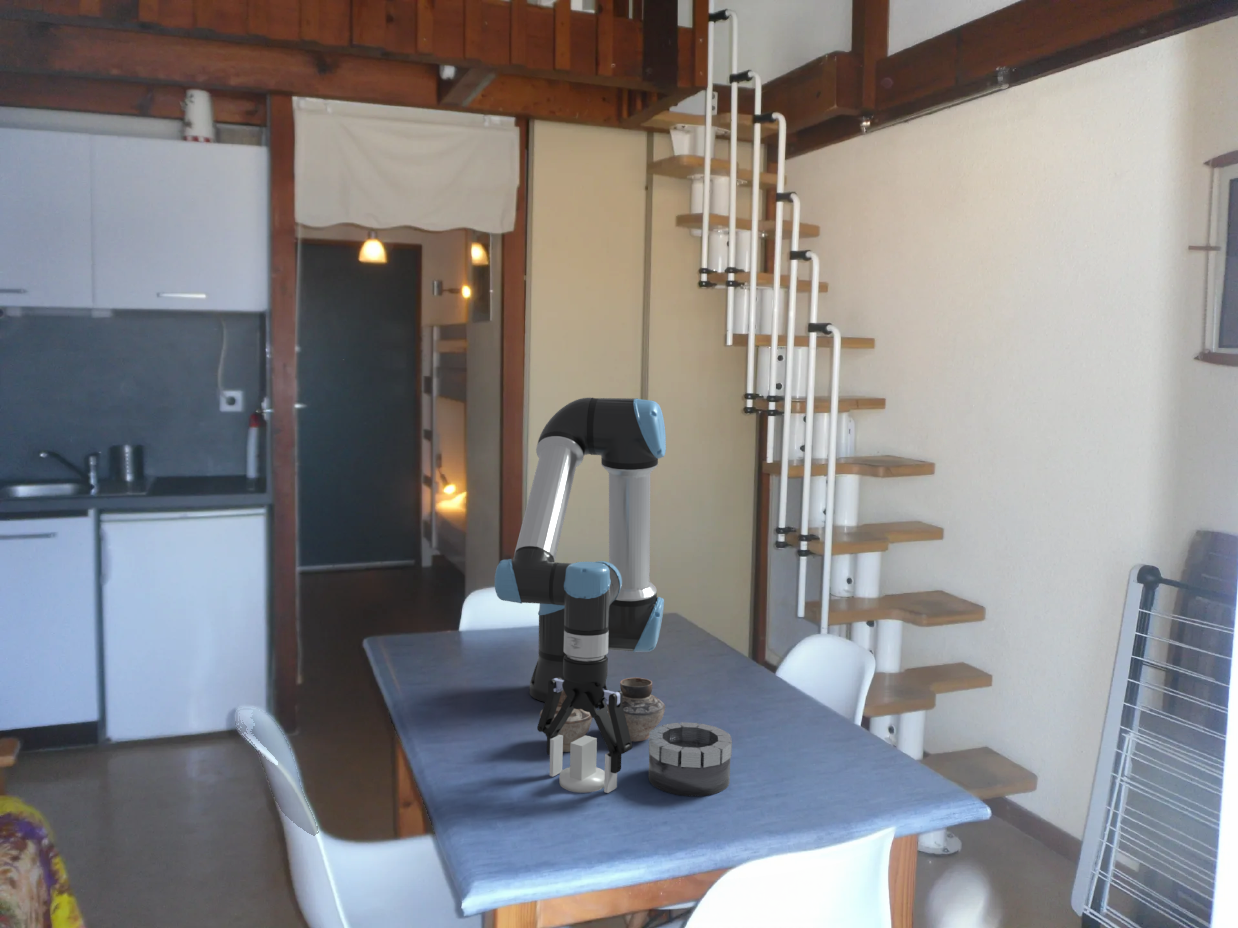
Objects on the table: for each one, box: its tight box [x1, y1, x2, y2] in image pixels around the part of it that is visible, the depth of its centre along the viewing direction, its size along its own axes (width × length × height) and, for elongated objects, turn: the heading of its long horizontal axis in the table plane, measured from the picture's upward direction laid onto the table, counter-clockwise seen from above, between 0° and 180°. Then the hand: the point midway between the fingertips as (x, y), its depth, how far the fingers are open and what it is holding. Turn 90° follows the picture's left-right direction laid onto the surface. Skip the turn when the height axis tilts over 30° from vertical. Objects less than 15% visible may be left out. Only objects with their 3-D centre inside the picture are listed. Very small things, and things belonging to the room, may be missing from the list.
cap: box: [558, 734, 605, 794], centre depth 170 cm, size 8×8×8 cm
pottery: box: [539, 677, 666, 753], centre depth 189 cm, size 11×25×12 cm, turn 116°
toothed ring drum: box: [648, 721, 733, 797], centre depth 173 cm, size 14×14×8 cm
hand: (582, 781), depth 170 cm, fingers open, 11 cm apart
